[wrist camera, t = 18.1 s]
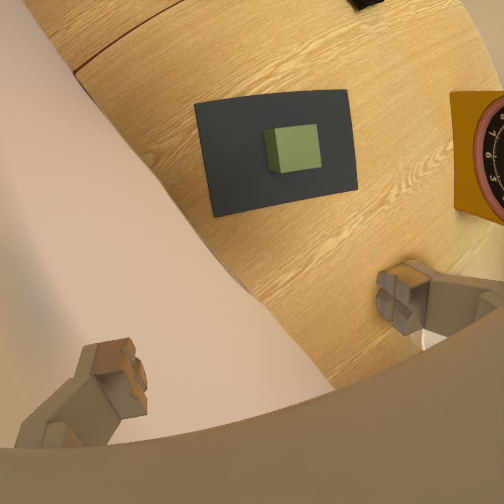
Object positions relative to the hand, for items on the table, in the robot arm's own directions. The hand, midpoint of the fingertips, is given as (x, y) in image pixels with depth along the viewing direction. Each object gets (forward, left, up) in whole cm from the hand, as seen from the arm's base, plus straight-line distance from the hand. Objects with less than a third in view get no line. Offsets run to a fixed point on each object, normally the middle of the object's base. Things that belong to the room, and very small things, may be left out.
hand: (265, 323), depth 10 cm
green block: (+12, +3, -30) cm, 33 cm away
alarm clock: (+48, 0, -31) cm, 57 cm away
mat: (+12, +3, -31) cm, 33 cm away
